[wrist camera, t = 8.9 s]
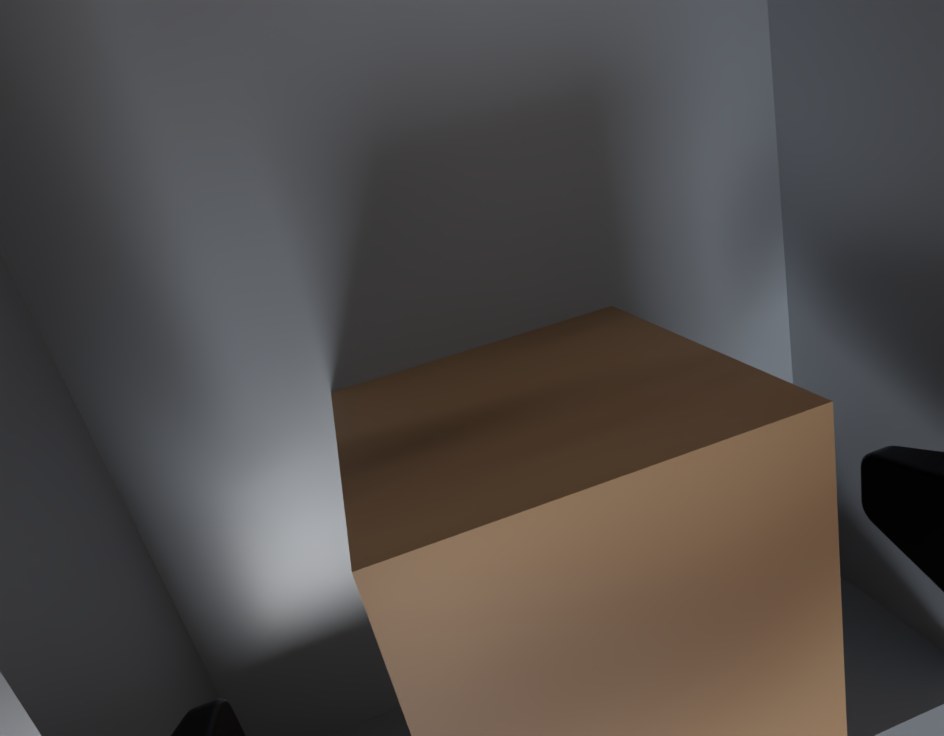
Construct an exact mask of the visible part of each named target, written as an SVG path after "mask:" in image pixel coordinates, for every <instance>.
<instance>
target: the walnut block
mask: <svg viewBox="0 0 944 736" xmlns="http://www.w3.org/2000/svg"><path fill="white" fill-rule="evenodd" d="M331 398H332V406H333V415H334V424H335V432H336V441H337V450H338V458H339V467H340V475H341V484H342V493H343V501H344V510H345V518H346V527H347V536H348V544H349V553H350V561H351V570H352V574H353V577H354V580H355V583H356V585H357V588H358V591H359V593H360V596H361V599H362V602H363V604H364V607H365V610H366V613H367V615H368V618H369V621H370V624H371V626H372V629H373V632H374V635H375V637H376V640H377V643H378V645H379V648H380V651H381V654H382V656H383V659H384V662H385V665H386V667H387V670H388V673H389V676H390V678H391V681H392V684H393V687H394V689H395V692H396V695H397V698H398V700H399V703H400V706H401V708H402V711H403V714H404V717H405V719H406V722H407V725H408V728H409V730H410V733H411V736H847V718H846V695H845V672H844V648H843V625H842V601H841V578H840V555H839V531H838V508H837V484H836V461H835V438H834V414H833V401H831V400H829V399H826V398H824V397H822V396H819V395H817V394H815V393H812V392H810V391H808V390H805V389H803V388H801V387H799V386H796V385H794V384H792V383H789V382H787V381H785V380H782V379H780V378H778V377H775V376H773V375H771V374H769V373H766V372H764V371H762V370H759V369H757V368H755V367H752V366H750V365H748V364H745V363H743V362H741V361H738V360H736V359H734V358H732V357H729V356H727V355H725V354H722V353H720V352H718V351H715V350H713V349H711V348H708V347H706V346H704V345H701V344H699V343H697V342H695V341H692V340H690V339H688V338H685V337H683V336H681V335H678V334H676V333H674V332H671V331H669V330H667V329H664V328H662V327H660V326H658V325H655V324H653V323H651V322H648V321H646V320H644V319H641V318H639V317H637V316H634V315H632V314H630V313H627V312H625V311H623V310H621V309H618V308H616V307H614V306H610V307H607V308H604V309H600V310H597V311H594V312H591V313H587V314H584V315H581V316H578V317H574V318H571V319H568V320H565V321H561V322H558V323H555V324H552V325H548V326H545V327H542V328H539V329H535V330H532V331H529V332H526V333H522V334H519V335H516V336H513V337H510V338H506V339H503V340H500V341H497V342H493V343H490V344H487V345H484V346H480V347H477V348H474V349H471V350H467V351H464V352H461V353H458V354H454V355H451V356H448V357H445V358H441V359H438V360H435V361H432V362H428V363H425V364H422V365H419V366H415V367H412V368H409V369H406V370H403V371H399V372H396V373H393V374H390V375H386V376H383V377H380V378H377V379H373V380H370V381H367V382H364V383H360V384H357V385H354V386H351V387H347V388H344V389H341V390H338V391H334V392H331Z"/></svg>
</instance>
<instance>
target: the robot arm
mask: <svg viewBox="0 0 944 736" xmlns="http://www.w3.org/2000/svg"><path fill="white" fill-rule="evenodd" d="M860 469H861V502H862V507H863V510H864V512H865V514H866V516H867V517H868V518H869V520H870V521H871V522H872V523H873V524H874V525H875V526H876V527H877V528H878V529H879V530H880V531H881V532H882V533H883V534H884V535H885V536H886V537H887V538H888V539H889V540H890V541H891V542H893V543H894V544H895V545H896V546H897V547H898V548H899V549H900V550H901V551H902V552H903V553H904V554H905V555H906V556H907V557H908V558H909V559H910V560H911V561H912V562H913V563H914V564H915V565H916V566H917V567H918V568H919V569H920V570H921V571H922V572H923V573H924V574H925V575H926V576H927V577H929V578H930V579H931V580H932V581H933V582H934V583H935V584H936V585H937V586H938V587H939V588H940V589H941V590H942V591H943V592H944V452H941V451H933V450H926V449H918V448H910V447H902V446H893V445H892V446H886V447H883V448H880V449H878V450H875V451H872V452H870V453H867V454H866V455H865V456H863V458H862V461H861V465H860ZM170 736H246V735H245V733H244V731H243V729H242V727H241V725H240V723H239V721H238V719H237V717H236V715H235V713H234V711H233V709H232V707H231V705H230V703H229V702H228V701H227V700H226V699H223V698H218V699H215V700H213V701H210V702H207V703H205V704H202V705H199V706H197V707H194V708H192V709H191V710H189V711H188V712H187V713H186V715H185V716H184V717H183V718H182V720H181V721H180V723H179V724H178V726H177V727H176V728H175V730H174V731H173V733H172V734H171V735H170Z"/></svg>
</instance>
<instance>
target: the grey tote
mask: <svg viewBox="0 0 944 736" xmlns="http://www.w3.org/2000/svg"><path fill="white" fill-rule="evenodd" d="M610 306H614V307H616V308H618V309H621V310H623V311H625V312H627V313H630V314H632V315H634V316H637V317H639V318H641V319H644V320H646V321H648V322H651V323H653V324H655V325H658V326H660V327H662V328H664V329H667V330H669V331H671V332H674V333H676V334H678V335H681V336H683V337H685V338H688V339H690V340H692V341H695V342H697V343H699V344H701V345H704V346H706V347H708V348H711V349H713V350H715V351H718V352H720V353H722V354H725V355H727V356H729V357H732V358H734V359H736V360H738V361H741V362H743V363H745V364H748V365H750V366H752V367H755V368H757V369H759V370H762V371H764V372H766V373H769V374H771V375H773V376H775V377H778V378H780V379H782V380H785V381H787V382H789V383H792V384H794V385H796V386H799V387H801V388H803V389H805V390H808V391H810V392H812V393H815V394H817V395H819V396H822V397H824V398H826V399H829V400H831V401H833V414H834V438H835V461H836V484H837V508H838V531H839V555H840V578H841V601H842V625H843V648H844V672H845V695H846V718H847V736H944V592H943V591H942V590H941V589H940V588H939V587H938V586H937V585H936V584H935V583H934V582H933V581H932V580H931V579H930V578H929V577H927V576H926V575H925V574H924V573H923V572H922V571H921V570H920V569H919V568H918V567H917V566H916V565H915V564H914V563H913V562H912V561H911V560H910V559H909V558H908V557H907V556H906V555H905V554H904V553H903V552H902V551H901V550H900V549H899V548H898V547H897V546H896V545H895V544H894V543H893V542H891V541H890V540H889V539H888V538H887V537H886V536H885V535H884V534H883V533H882V532H881V531H880V530H879V529H878V528H877V527H876V526H875V525H874V524H873V523H872V522H871V521H870V520H869V518H868V517H867V516H866V514H865V512H864V510H863V507H862V502H861V469H860V465H861V461H862V458H863V456H865V455H866V454H867V453H870V452H872V451H875V450H878V449H880V448H883V447H886V446H892V445H893V446H902V447H910V448H918V449H926V450H933V451H941V452H944V0H0V736H170V735H171V734H172V733H173V731H174V730H175V728H176V727H177V726H178V724H179V723H180V721H181V720H182V718H183V717H184V716H185V715H186V713H187V712H188V711H189V710H191V709H192V708H194V707H197V706H199V705H202V704H205V703H207V702H210V701H213V700H215V699H218V698H223V699H226V700H227V701H228V702H229V703H230V705H231V707H232V709H233V711H234V713H235V715H236V717H237V719H238V721H239V723H240V725H241V727H242V729H243V731H244V733H245V735H246V736H411V733H410V730H409V728H408V725H407V722H406V719H405V717H404V714H403V711H402V708H401V706H400V703H399V700H398V698H397V695H396V692H395V689H394V687H393V684H392V681H391V678H390V676H389V673H388V670H387V667H386V665H385V662H384V659H383V656H382V654H381V651H380V648H379V645H378V643H377V640H376V637H375V635H374V632H373V629H372V626H371V624H370V621H369V618H368V615H367V613H366V610H365V607H364V604H363V602H362V599H361V596H360V593H359V591H358V588H357V585H356V583H355V580H354V577H353V574H352V570H351V561H350V553H349V544H348V536H347V527H346V518H345V510H344V501H343V493H342V484H341V475H340V467H339V458H338V450H337V441H336V432H335V424H334V415H333V406H332V398H331V392H334V391H338V390H341V389H344V388H347V387H351V386H354V385H357V384H360V383H364V382H367V381H370V380H373V379H377V378H380V377H383V376H386V375H390V374H393V373H396V372H399V371H403V370H406V369H409V368H412V367H415V366H419V365H422V364H425V363H428V362H432V361H435V360H438V359H441V358H445V357H448V356H451V355H454V354H458V353H461V352H464V351H467V350H471V349H474V348H477V347H480V346H484V345H487V344H490V343H493V342H497V341H500V340H503V339H506V338H510V337H513V336H516V335H519V334H522V333H526V332H529V331H532V330H535V329H539V328H542V327H545V326H548V325H552V324H555V323H558V322H561V321H565V320H568V319H571V318H574V317H578V316H581V315H584V314H587V313H591V312H594V311H597V310H600V309H604V308H607V307H610Z"/></svg>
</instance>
